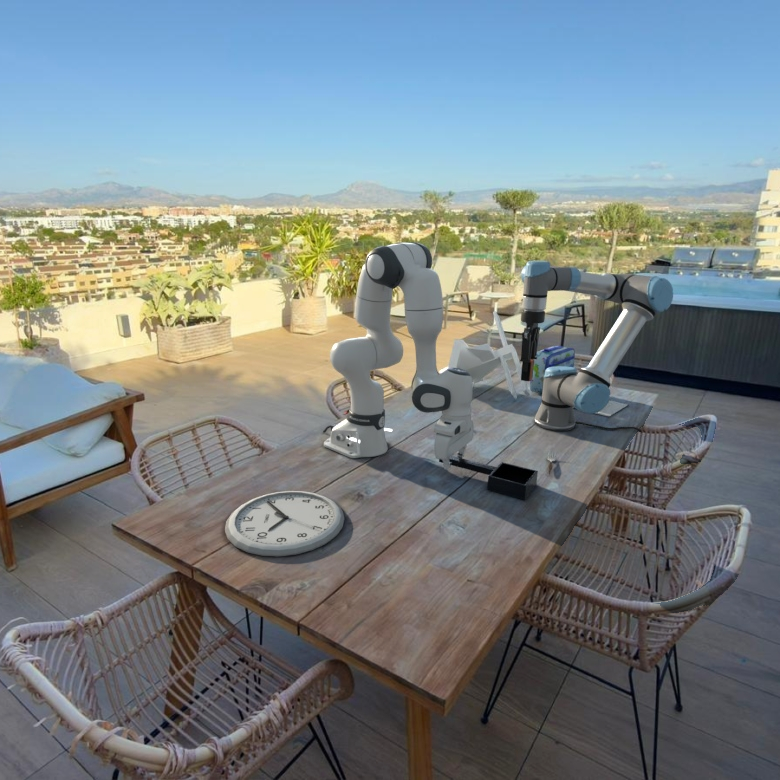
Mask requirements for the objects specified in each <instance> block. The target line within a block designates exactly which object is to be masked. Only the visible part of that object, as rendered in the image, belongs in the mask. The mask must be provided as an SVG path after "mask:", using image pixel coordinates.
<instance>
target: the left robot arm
mask: <svg viewBox="0 0 780 780" xmlns="http://www.w3.org/2000/svg"><path fill="white" fill-rule="evenodd" d="M432 266H433V256H432V252H431V250H430V249H429V248H428V247H427V246H426V245H424V244H422V243H419V242H396V243H392V244H389V245H380V246H378V247H375V248H373V249H372V250H370V251H369V252H368V253H367V255H366V258H365V262H364V264H363V265H362V267H361V270H360V274H359V278H358V280H357V281H358V282H357V287H356V295H355V296H356V297H355V304H354V305H355V306H354V319H355V321H356V323H357V324H358V325H359V326H361V327H362V328H364V329H366V335H365V336H362V337H353V338H347V339H343V340H341V341H338V342H335V343H333V345H332V347H331V349H330V351H329V360H330V364H331V366H332V368H333V369H334V370H335V371H336V372H338V373H339V374H340V375H342V377H344V379H345V381H346V382H347V385H348V388H349V395H350V397H349V398H350V408H348V409H346V410H345V411H344V413H343V415H344V416H346V418H344V419H343V420H342V421H339V422H337V423H334V424H331V425H328V426H326V427H325V428H324V430H323V431H322V433H323V434H325V433H326V432H327V431H328V429H330V436H329V437H328V438H327V439H325V440H324V442H323V447H324V448H326V449H327V450H331V451H334V452H336V453H338V454H341V455H342V456H344V457H347V458H349V459H359V458H371V457H372V458H373V457H378V456H382V455H383V454H385V453H386V452H388V450H389V446H388V443H387V438H386V431H387V432H393V429H392V428H387V427H385V423H386V410H385V390H384V387H383V386H382V384H381V383H380V382H378V381H376V380H375V379H372V378H371V371H375V370H379V369H387V368H390V367H392V366H395V365H397V364H399V363H400V362H401V361H402V359H403V356H404V345H403V343H402V341H401V340H400V339H399V338H398V336H396V335H395V333H394V332H393V330H392V326H391V309H392V302H393V293H394V289H396V288H397V287H399V289H400V290H401V291H402V295H403V298H404V299H403V303H404V317H405V324H406V327H407V331H408V334H410V336H411V338H412V340H413V342H414V343H413V344H414V348H415V365H416V366H415V373H414V375H413V376H412V377H413V378H412V380H411V401H412V405H413V406H414V408H416V410H418V411H419V412H422V413H425V414H427V413H439V412H441V416H439V419H438V421H437V422H436V424H435V425H434V426H433V432H434V433H435V436H434V441H433V442H434V443H433V444H434V445H433V446H434V447H433V448H434V453H433V454H434V456H435V458H436V459H438V460H439V459H441V460H442V461H443V463H442V464H443V469H444V470H449V469H451V467H452V465H451V463H450V461H449V459H450V457H451V456H454V455H455V454H456V455H457V456H456V457H458V458H462V459H464V458H465V452H466V449H467V447H468V444H469V443H471V442H473V438H474V421H473V420H472V408H471V405H472V401H473V395H474V394H473V393H474V392H473V391H474V390H473V389H474V388H473V382H472V377H471V375H470V374H469V373H468V372H467V371H465V370H463V369H459V368H447V369H446V370H445V371H444V372H442V373H440V372H439V371H438V368H437V367H438V366H437V347H436V346H437V341H438V336H439V335H440V333H441V332H442V329H443V323H444V299H443V291H442V290H443V289H442V286H441V280H440V277H439V274H438V273H437V272H436V271H435V270H434V269H432Z"/></svg>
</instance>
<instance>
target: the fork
mask: <svg viewBox="0 0 780 780" xmlns="http://www.w3.org/2000/svg"><path fill="white" fill-rule="evenodd" d="M547 460H548V461H549V464H548V475H550V474H551V471H552V469H553V462H556V460H557V453H555V452H553V450H550V449H549V450H548V456H547Z"/></svg>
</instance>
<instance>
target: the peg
mask: <svg viewBox="0 0 780 780" xmlns="http://www.w3.org/2000/svg"><path fill="white" fill-rule="evenodd" d="M530 362H531V370H530V380H529V381H528V382H530V381H532V372H533V362H534V360H532V359H531V361H530Z"/></svg>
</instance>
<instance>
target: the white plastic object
mask: <svg viewBox="0 0 780 780" xmlns="http://www.w3.org/2000/svg"><path fill="white" fill-rule="evenodd" d="M492 315H493V319H494V321H495V324H496V325H495V326H496V328H497V332H498V335H499V338H500V342H501V345H502V347H500V348H498V349H496V350H495V349H493V348H492V347H491V346H490V344H489V343H488V342H487V343H483V344H479V345H473V346H469V345H468V343H466V342H465V340H464V339H463V338H460V339H458V338H454V340H453V344H452V349H451V353H450V357H449V362H448V366H446V367H444V368H442V369H440V370H439V371H438V373H439V374H440V373H442V372H444V371H445V370H446V369H447V368H459V369H463V370H465V371H467V372H468V373H469V374H470V375H471V377H472V383H473V384H477V383H480V382H482V381H484V378H485V377H486V376H487V375H489V374H490V373H492V372H494V371H495V370H496V369H497V368H499V367H500V366H502V370H503V373H504V376H505V380H506V383H507V386H508V390H509V393H510V394H511V395H512V397H513V398H514V399H515V400H517V392H516V391H517V390H516V388H515V385H514V381H513V378H512V375H511V371H510V369H509V365H508V361H510V360H513V363H514V366H515V369H516V372H517V376H518V380H519V382H520V385H521V389H522V391H523V393H524V395H525V396H526V397H528V396H531V395H530V389H529V388H528V387H529V386H528V384H527V381H523V380H521V373H522V364H521V361H520V359H519V355H518V352H517V349H516V347H515V346H514V345H513V343H511V344H508V341H507V337H506V334H505V331H504V328H503V325H502V321H501V318H500V315H499V314H498V312H497V311H496V310H495V311H492Z"/></svg>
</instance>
